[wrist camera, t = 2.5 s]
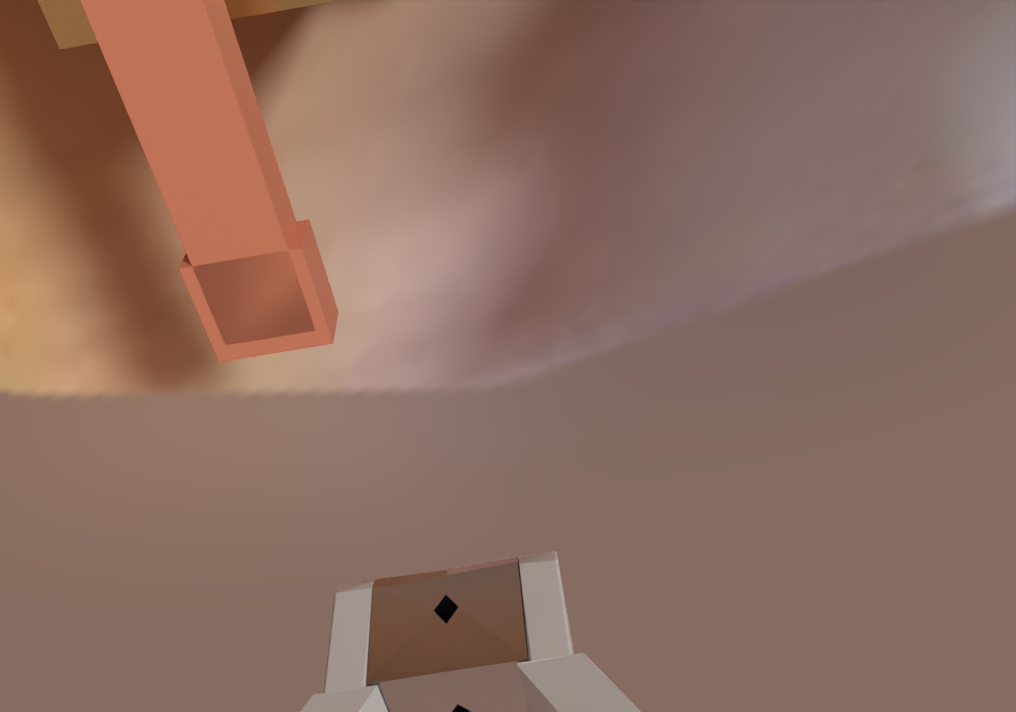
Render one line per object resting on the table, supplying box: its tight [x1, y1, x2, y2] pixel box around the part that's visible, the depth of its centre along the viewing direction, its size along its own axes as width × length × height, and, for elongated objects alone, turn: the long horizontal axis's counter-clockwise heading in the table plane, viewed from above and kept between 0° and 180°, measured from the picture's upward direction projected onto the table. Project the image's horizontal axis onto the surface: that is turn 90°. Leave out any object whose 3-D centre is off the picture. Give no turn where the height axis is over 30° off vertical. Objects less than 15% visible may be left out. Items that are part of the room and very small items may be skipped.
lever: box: [80, 0, 338, 362], centre depth 20 cm, size 4×14×2 cm, turn 8°
